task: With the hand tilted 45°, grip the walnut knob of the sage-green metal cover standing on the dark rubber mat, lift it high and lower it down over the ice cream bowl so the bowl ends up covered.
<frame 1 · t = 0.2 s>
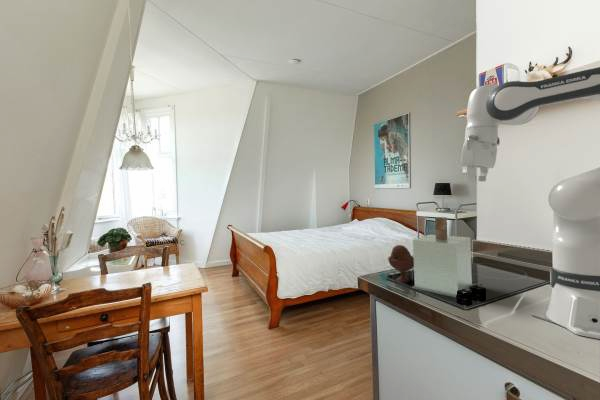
hand: (477, 181, 91), 39 cm above the counter, tool pointing down, fingers open, 8 cm apart
ice cream bowl: (402, 281, 115), on the counter
mat: (443, 287, 106), on the counter
cover: (443, 286, 106), resting on mat
fruit: (449, 269, 129), on the counter
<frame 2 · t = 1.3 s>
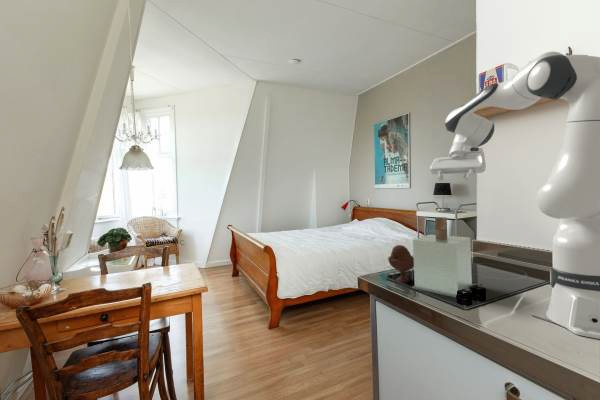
hand: (452, 179, 113), 41 cm above the counter, tool tilted 45°, fingers open, 8 cm apart
nothing on the counter moved.
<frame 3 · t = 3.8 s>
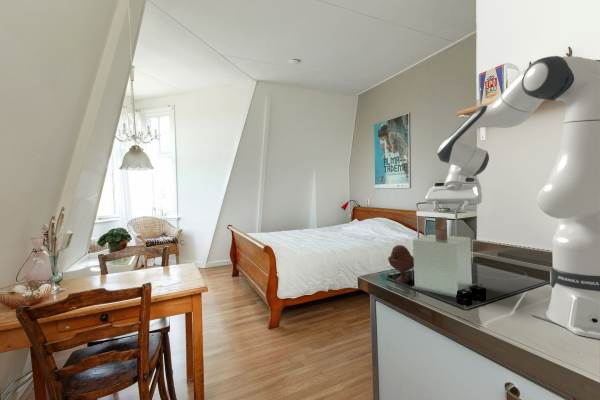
hand: (448, 210, 110), 28 cm above the counter, tool tilted 45°, fingers open, 8 cm apart
nothing on the counter moved.
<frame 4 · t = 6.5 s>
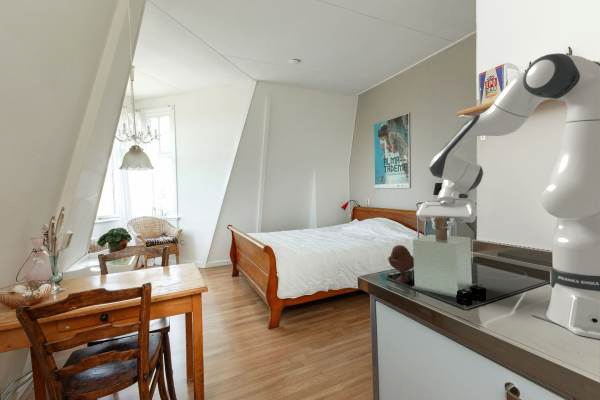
hand: (440, 228, 105), 22 cm above the counter, tool tilted 45°, fingers closed on cover, 3 cm apart
cover: (443, 286, 106), resting on mat, touching gripper
everything else where it was.
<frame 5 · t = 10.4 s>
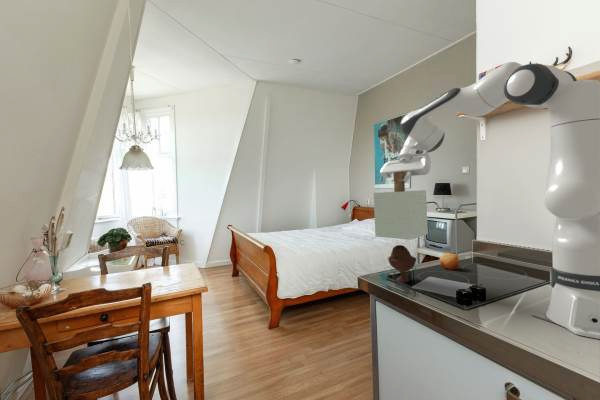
hand: (398, 182, 114), 41 cm above the counter, tool tilted 45°, fingers closed on cover, 3 cm apart
cover: (401, 235, 115), point 19 cm above the counter, touching gripper
everything else where it was.
when the fingers open (23 cm above the counter, at t = 14.6 s): cover drops 1 cm, resting on mat.
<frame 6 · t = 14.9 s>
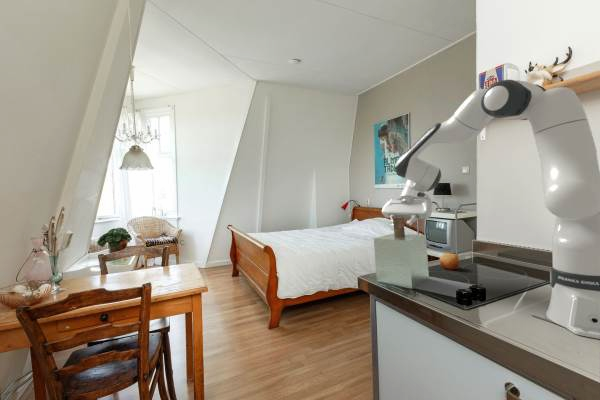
hand: (400, 224, 114), 23 cm above the counter, tool tilted 45°, fingers open, 6 cm apart
cover: (402, 280, 115), resting on mat
everything else where it was.
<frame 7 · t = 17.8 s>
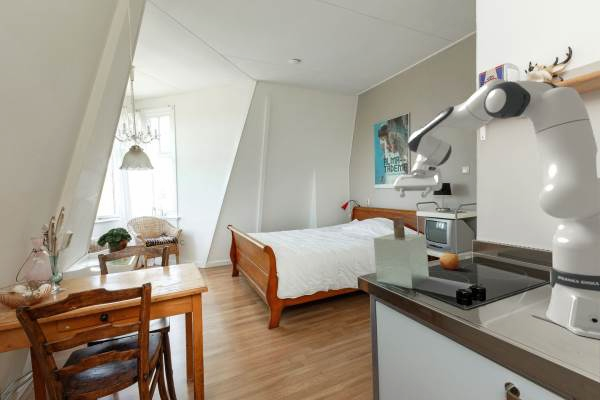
hand: (412, 196, 121), 34 cm above the counter, tool tilted 45°, fingers open, 8 cm apart
nothing on the counter moved.
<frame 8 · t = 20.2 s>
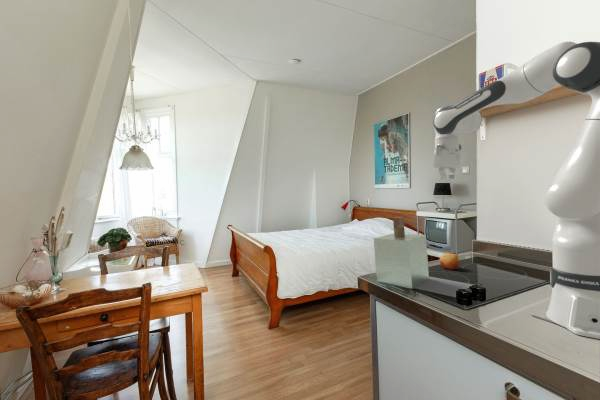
hand: (447, 178, 118), 41 cm above the counter, tool pointing down, fingers open, 8 cm apart
nothing on the counter moved.
at the end: cover 0.2 cm off-centre in the ice cream bowl, point 0.5 cm above the ice cream bowl's base; cover tilted 2°; the gripper is holding nothing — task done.
